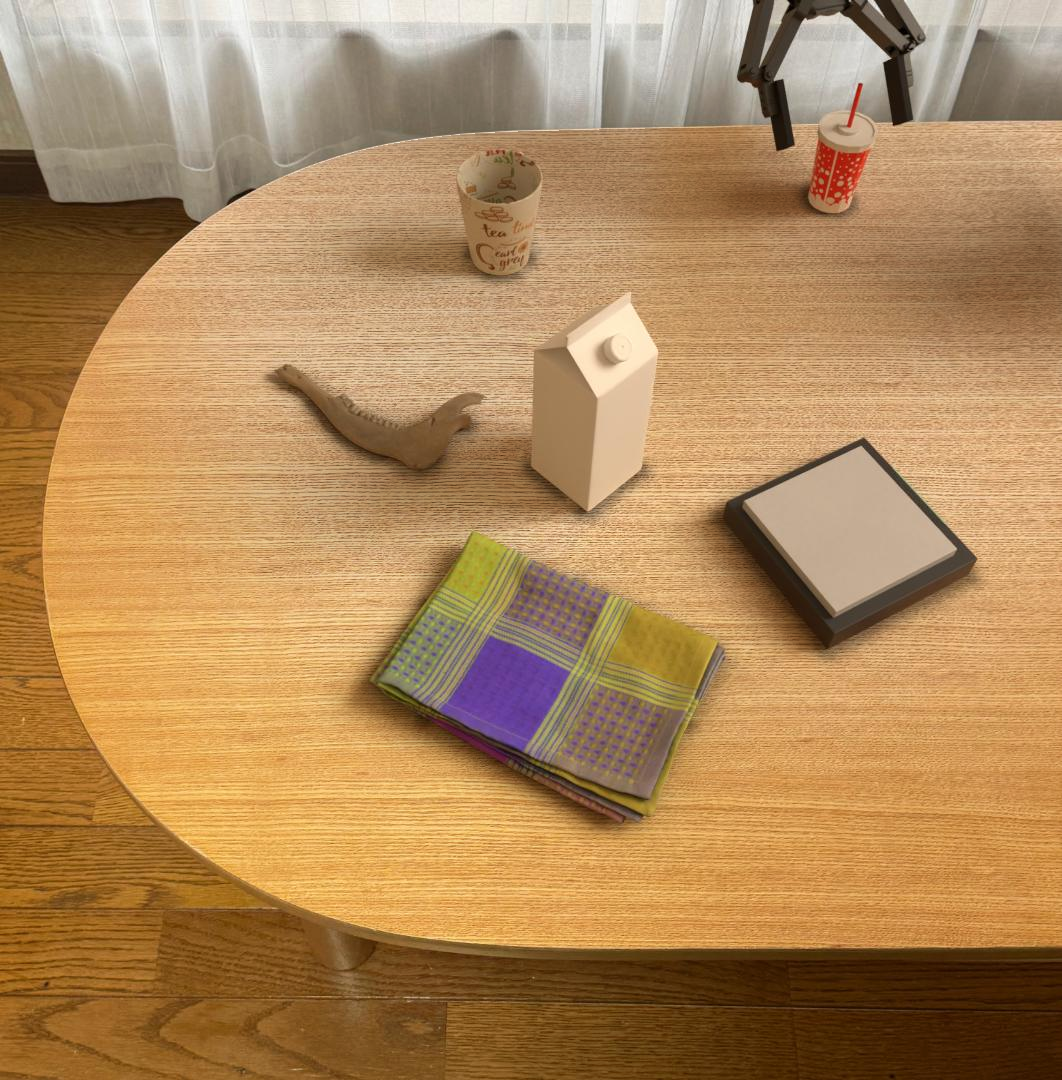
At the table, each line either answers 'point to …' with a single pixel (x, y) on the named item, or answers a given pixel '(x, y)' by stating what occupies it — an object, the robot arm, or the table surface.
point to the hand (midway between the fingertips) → (845, 136)
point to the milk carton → (593, 402)
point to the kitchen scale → (847, 541)
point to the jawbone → (388, 423)
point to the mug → (499, 208)
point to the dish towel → (553, 677)
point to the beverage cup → (840, 157)
